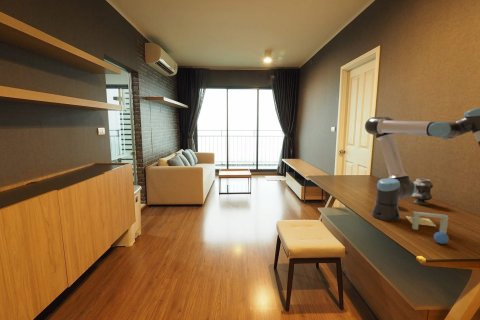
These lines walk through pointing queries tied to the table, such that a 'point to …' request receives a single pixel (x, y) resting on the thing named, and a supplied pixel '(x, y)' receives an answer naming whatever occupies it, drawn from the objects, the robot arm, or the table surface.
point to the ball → (441, 237)
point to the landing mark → (422, 221)
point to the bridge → (443, 217)
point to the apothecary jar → (422, 191)
